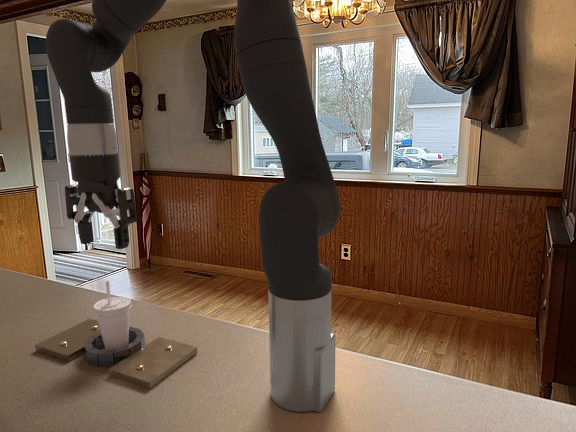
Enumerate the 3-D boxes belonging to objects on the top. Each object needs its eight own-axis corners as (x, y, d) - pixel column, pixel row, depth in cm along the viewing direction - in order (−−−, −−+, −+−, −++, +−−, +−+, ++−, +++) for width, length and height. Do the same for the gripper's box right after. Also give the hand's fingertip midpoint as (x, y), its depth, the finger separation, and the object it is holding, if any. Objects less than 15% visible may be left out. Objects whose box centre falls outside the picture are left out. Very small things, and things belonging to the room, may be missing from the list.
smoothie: (90, 356, 77) (81, 283, 74) (119, 340, 82) (112, 272, 80) (115, 365, 74) (107, 289, 71) (143, 348, 80) (136, 277, 77)
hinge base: (197, 352, 78) (196, 340, 77) (150, 389, 67) (148, 374, 66) (90, 323, 90) (89, 312, 89) (35, 350, 79) (34, 338, 78)
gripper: (142, 150, 71) (150, 244, 74) (83, 150, 77) (93, 236, 80) (106, 153, 64) (117, 256, 68) (44, 152, 70) (57, 246, 74)
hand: (104, 245), depth 74 cm, fingers open, 8 cm apart
